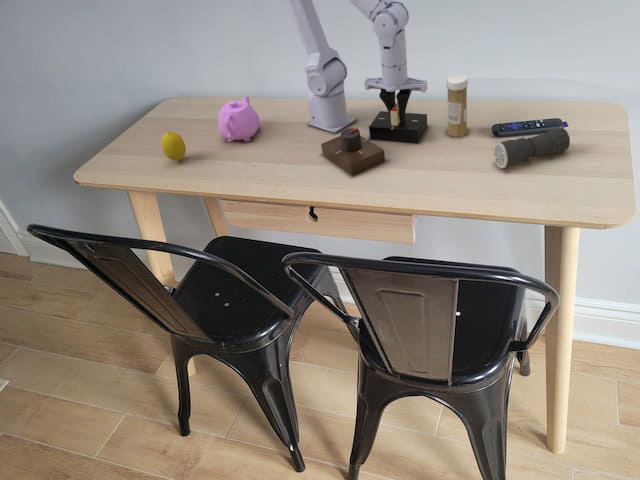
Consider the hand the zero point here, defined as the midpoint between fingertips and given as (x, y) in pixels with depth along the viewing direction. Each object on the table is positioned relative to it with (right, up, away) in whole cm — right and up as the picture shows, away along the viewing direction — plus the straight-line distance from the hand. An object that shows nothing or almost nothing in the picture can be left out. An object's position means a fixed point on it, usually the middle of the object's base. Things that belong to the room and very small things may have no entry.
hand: (397, 118), depth 137 cm
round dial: (-11, -8, -5) cm, 15 cm away
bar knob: (0, 0, 0) cm, 0 cm away
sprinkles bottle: (+14, -4, -1) cm, 15 cm away
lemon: (-54, -9, +7) cm, 55 cm away
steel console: (0, -3, +3) cm, 4 cm away
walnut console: (-11, -10, -3) cm, 15 cm away
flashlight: (+27, -12, -13) cm, 33 cm away
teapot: (-39, -1, +13) cm, 41 cm away
